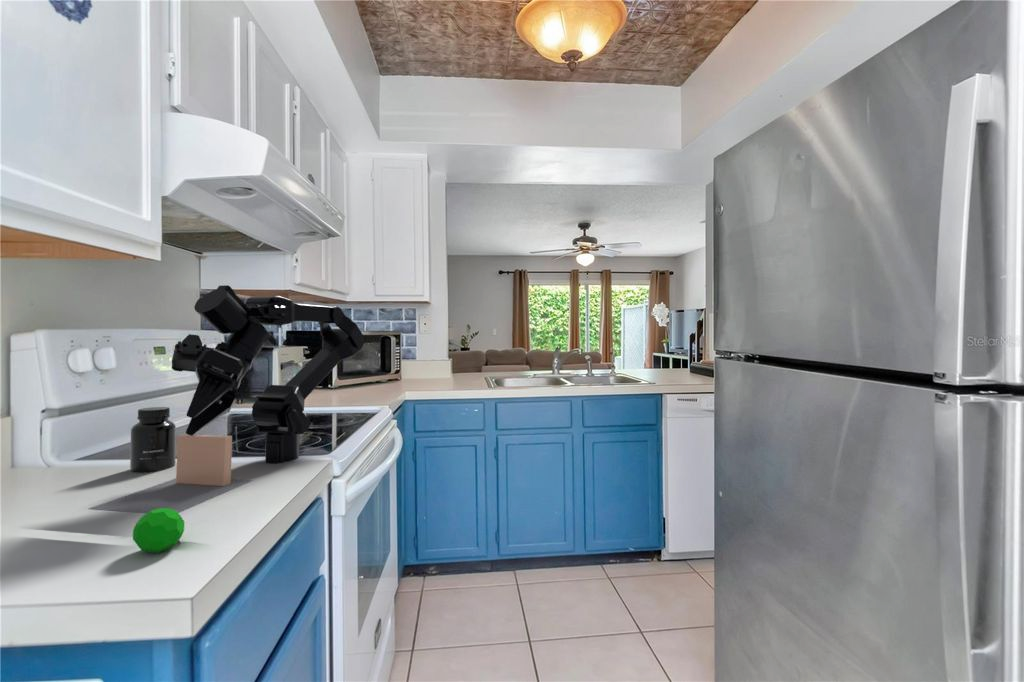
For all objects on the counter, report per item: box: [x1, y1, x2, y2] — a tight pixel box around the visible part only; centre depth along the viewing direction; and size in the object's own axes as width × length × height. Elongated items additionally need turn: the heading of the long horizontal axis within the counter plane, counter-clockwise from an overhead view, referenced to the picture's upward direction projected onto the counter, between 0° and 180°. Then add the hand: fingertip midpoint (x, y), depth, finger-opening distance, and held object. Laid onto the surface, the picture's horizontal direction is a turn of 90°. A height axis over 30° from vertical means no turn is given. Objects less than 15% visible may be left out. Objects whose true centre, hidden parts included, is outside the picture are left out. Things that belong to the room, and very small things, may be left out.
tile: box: [175, 433, 233, 486], centre depth 80 cm, size 2×9×8 cm, turn 81°
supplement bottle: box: [129, 406, 177, 474], centre depth 90 cm, size 7×7×12 cm
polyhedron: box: [132, 508, 185, 553], centre depth 57 cm, size 5×5×5 cm
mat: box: [88, 477, 254, 514], centre depth 75 cm, size 16×14×1 cm
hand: (189, 426), depth 77 cm, fingers open, 9 cm apart
